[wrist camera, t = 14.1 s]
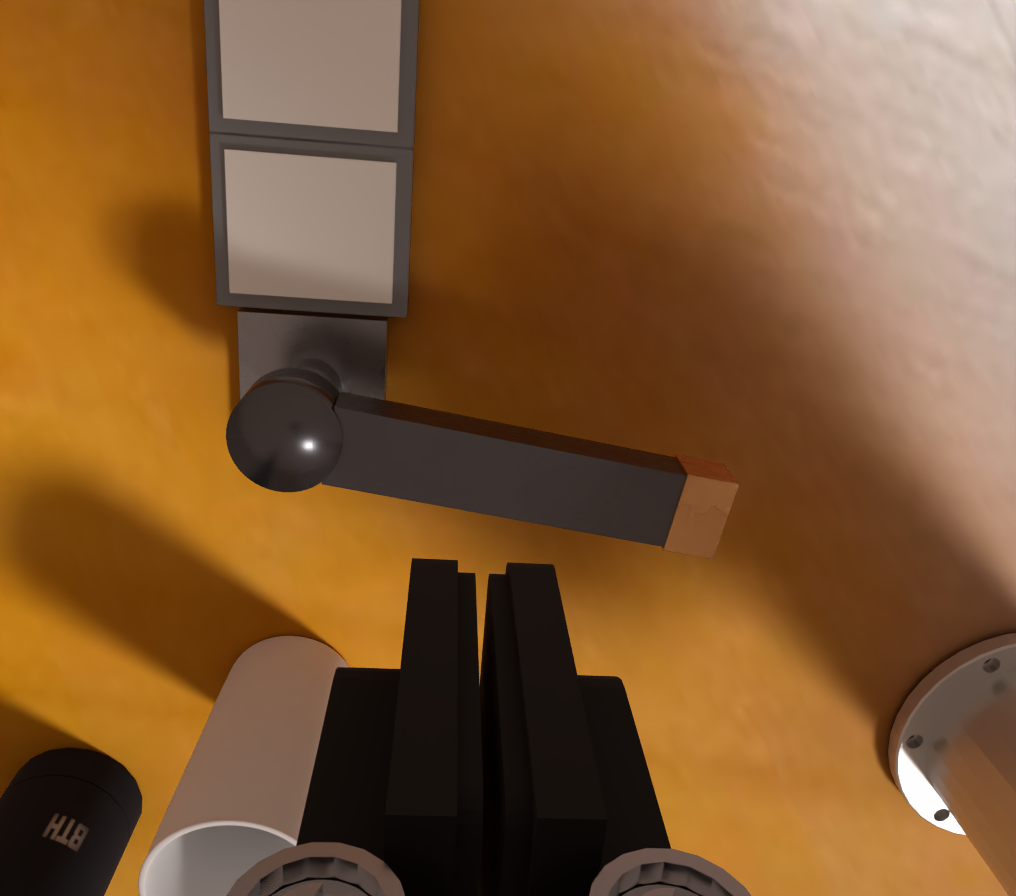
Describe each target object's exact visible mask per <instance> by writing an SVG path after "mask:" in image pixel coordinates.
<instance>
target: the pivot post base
mask: <svg viewBox="0 0 1016 896" xmlns="http://www.w3.org/2000/svg"><path fill="white" fill-rule="evenodd" d="M237 319H238V348H239V378H240V400H241V399H242V398H243V396H244V395H245V394H246V392H247V391H248V390H249V388H250V387H251V386H252V385H253V384H254V383H255V382H256V381H257V380H258V379H259V378H260V377H262V376H263V375H265V374H267V373H269V372H272V371H274V370H278V369H283V368H299V369H305V370H309V371H312V372H314V373H317V374H319V375H320V376H322V377H324V378H325V379H327V380H328V381H329V382H330V383H332V384H333V385H334V386H335V387H336V389H337V390H338V391H339V392H340V393H341V392H346V393H351V394H356V395H361V396H367V397H372V398H377V399H382V400H386V378H387V344H388V317H381V316H366V315H351V314H336V313H321V312H305V311H290V310H275V309H260V308H245V307H242V308H241V309H239V310H238V311H237Z"/></svg>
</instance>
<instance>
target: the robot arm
mask: <svg viewBox="0 0 1016 896" xmlns="http://www.w3.org/2000/svg"><path fill="white" fill-rule="evenodd" d="M888 757H889V765H890V771H891V774H892V776H893V779H894V781H895V784H896V786H897V787H898V789H899V790H900V792H901V793H902V795H903V797H904V798H905V800H906V801H907V803H908V804H909V805H910V806H911V807H912V808H913V810H914V811H915V812H916V813H917V814H918V815H919V816H920V817H922V818H923V819H925V820H926V821H928V822H929V823H930V824H932V825H934V826H937V827H939V828H942V829H944V830H947V831H950V832H952V833H958V834H963V835H967V837H968V838H969V840H970V841H971V843H972V844H973V845H974V847H975V848H976V850H977V851H978V853H979V854H980V855H981V857H982V858H983V860H984V861H985V862H986V864H987V865H988V867H989V868H990V870H991V871H992V872H993V874H994V875H995V877H996V878H997V880H998V881H999V882H1000V884H1001V885H1002V887H1003V888H1004V890H1005V891H1006V892H1007V894H1008V895H1009V896H1016V633H1011V634H1005V635H1002V636H998V637H995V638H991V639H988V640H984V641H982V642H979V643H977V644H975V645H973V646H971V647H968V648H966V649H964V650H962V651H960V652H958V653H957V654H955V655H954V656H952V657H950V658H949V659H947V660H946V661H944V662H943V663H941V664H940V665H938V666H937V667H936V668H935V669H934V670H933V671H932V672H930V673H929V674H928V675H927V676H926V677H925V678H924V679H922V680H921V682H920V683H919V684H918V685H917V686H916V688H915V689H914V690H913V691H912V692H911V694H910V695H909V696H908V697H907V699H906V701H905V702H904V704H903V706H902V707H901V709H900V711H899V713H898V714H897V716H896V719H895V722H894V725H893V728H892V731H891V733H890V740H889V748H888ZM226 896H751V895H750V893H749V892H748V891H747V889H746V888H745V887H744V886H743V885H742V884H741V883H739V882H738V881H737V880H736V879H735V878H733V877H732V876H731V875H730V874H729V873H727V872H726V871H725V870H724V869H722V868H721V867H719V866H717V865H715V864H713V863H711V862H709V861H707V860H705V859H703V858H701V857H699V856H697V855H693V854H689V853H686V852H682V851H678V850H675V849H671V847H670V843H669V840H668V836H667V833H666V829H665V826H664V822H663V819H662V816H661V812H660V809H659V805H658V802H657V798H656V795H655V791H654V788H653V784H652V781H651V777H650V774H649V770H648V767H647V764H646V760H645V757H644V753H643V750H642V746H641V743H640V739H639V736H638V732H637V729H636V725H635V722H634V719H633V715H632V712H631V708H630V705H629V701H628V698H627V694H626V691H625V688H624V685H623V683H622V680H621V679H620V678H619V677H614V676H585V675H577V672H576V667H575V662H574V657H573V653H572V648H571V643H570V638H569V634H568V629H567V624H566V620H565V615H564V610H563V605H562V601H561V596H560V591H559V586H558V582H557V577H556V572H555V568H554V565H552V564H529V563H507V567H506V573H505V574H489V579H488V589H487V601H486V613H485V626H484V638H483V651H482V663H481V675H480V688H479V661H478V634H477V606H476V578H475V573H459V572H458V560H439V559H416V558H412V563H411V573H410V582H409V592H408V602H407V611H406V621H405V630H404V640H403V649H402V659H401V669H379V668H350V667H337V669H336V670H335V674H334V677H333V682H332V686H331V691H330V695H329V700H328V704H327V709H326V713H325V718H324V722H323V727H322V731H321V736H320V740H319V745H318V749H317V754H316V758H315V763H314V767H313V772H312V776H311V781H310V785H309V790H308V794H307V799H306V803H305V808H304V812H303V817H302V822H301V826H300V831H299V835H298V840H297V844H296V846H293V847H289V848H285V849H283V850H281V851H279V852H277V853H275V854H273V855H271V856H268V857H266V858H264V859H262V860H260V861H259V862H257V863H256V864H255V865H254V866H253V867H251V868H250V869H249V870H248V871H247V872H246V873H244V874H243V875H242V876H241V877H240V878H238V879H237V881H236V882H235V883H234V885H233V886H232V888H231V889H230V891H229V892H228V894H227V895H226Z"/></svg>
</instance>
